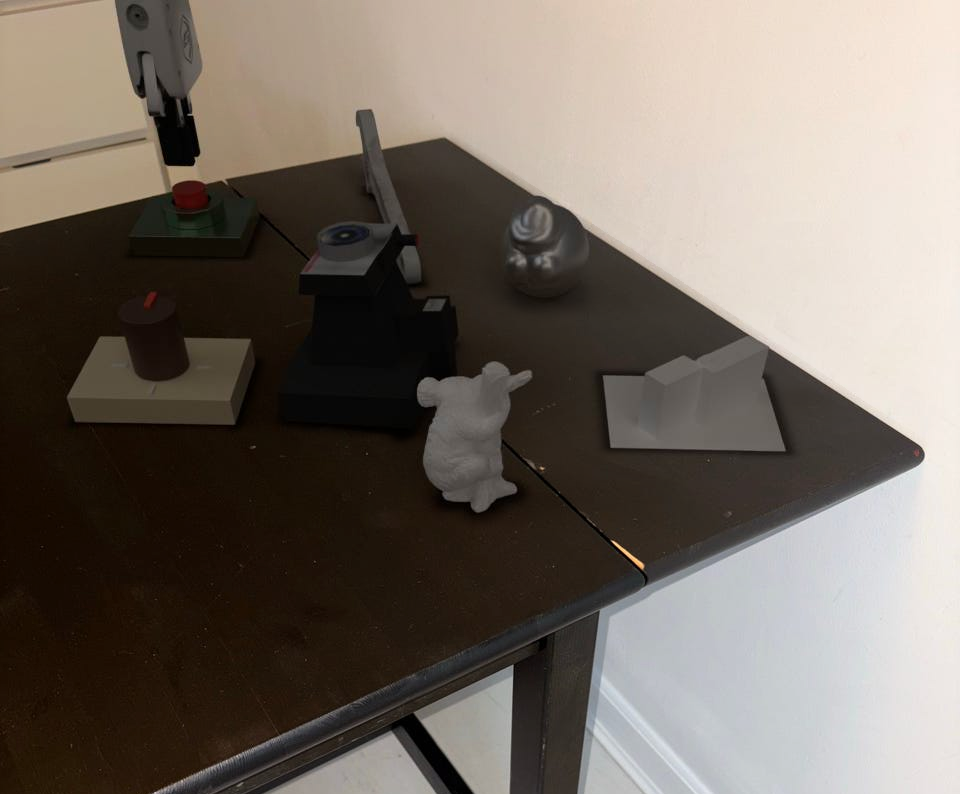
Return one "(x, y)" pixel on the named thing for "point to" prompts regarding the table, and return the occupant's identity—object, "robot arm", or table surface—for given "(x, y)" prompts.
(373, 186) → the wrench
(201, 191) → the button
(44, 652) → the table surface
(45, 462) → the table surface
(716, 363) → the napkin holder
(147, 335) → the dial
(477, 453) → the animal figurine
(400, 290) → the camera
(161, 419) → the panel
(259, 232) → the table surface
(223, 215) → the button block
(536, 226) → the dark grey rounded lump
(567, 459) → the table surface
